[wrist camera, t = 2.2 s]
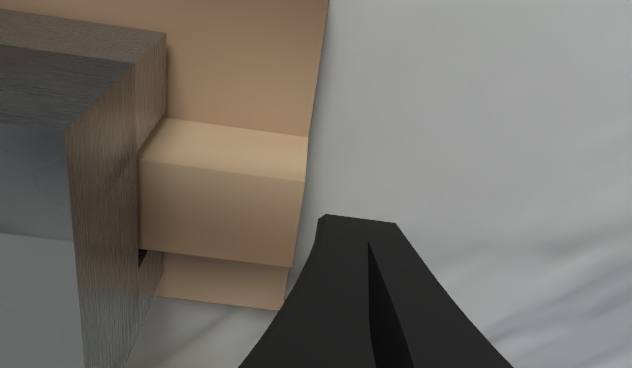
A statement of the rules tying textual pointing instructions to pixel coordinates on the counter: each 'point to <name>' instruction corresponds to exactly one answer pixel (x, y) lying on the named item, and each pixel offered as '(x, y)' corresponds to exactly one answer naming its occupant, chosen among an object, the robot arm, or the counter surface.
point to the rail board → (226, 88)
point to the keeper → (74, 188)
